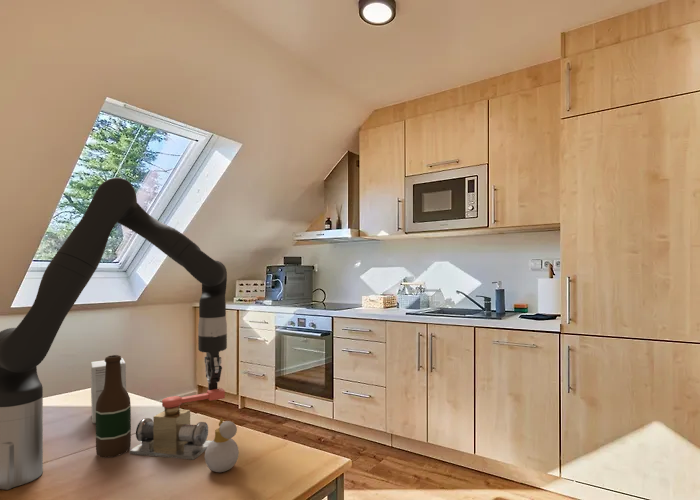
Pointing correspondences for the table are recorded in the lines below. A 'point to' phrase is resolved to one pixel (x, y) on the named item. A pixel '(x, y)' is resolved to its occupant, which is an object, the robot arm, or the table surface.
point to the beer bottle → (113, 413)
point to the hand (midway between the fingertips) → (212, 395)
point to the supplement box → (101, 381)
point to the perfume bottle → (222, 448)
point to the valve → (171, 435)
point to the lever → (193, 398)
